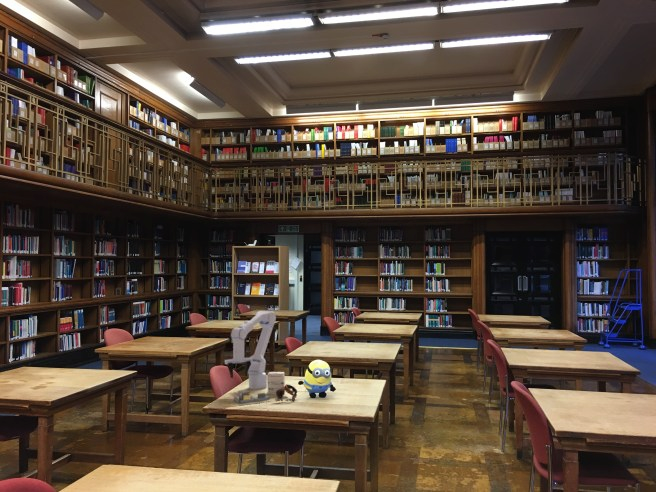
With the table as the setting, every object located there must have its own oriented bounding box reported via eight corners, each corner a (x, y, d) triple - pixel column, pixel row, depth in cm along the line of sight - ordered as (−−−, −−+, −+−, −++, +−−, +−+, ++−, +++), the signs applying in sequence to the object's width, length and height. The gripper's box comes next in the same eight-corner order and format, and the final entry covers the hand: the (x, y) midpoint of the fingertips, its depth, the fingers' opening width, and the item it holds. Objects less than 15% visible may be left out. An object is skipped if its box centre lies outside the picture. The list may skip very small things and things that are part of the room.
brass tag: (250, 398, 248) (250, 394, 248) (250, 399, 247) (250, 395, 247) (243, 399, 246) (243, 395, 246) (243, 400, 245) (243, 396, 245)
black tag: (264, 396, 251) (264, 392, 251) (265, 397, 251) (265, 393, 251) (257, 397, 250) (257, 393, 250) (258, 398, 249) (258, 394, 249)
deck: (244, 393, 267) (244, 391, 267) (248, 397, 260) (248, 395, 260) (229, 395, 263) (229, 393, 263) (233, 399, 256) (233, 397, 256)
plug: (246, 400, 254) (246, 389, 254) (249, 403, 249) (249, 391, 250) (238, 401, 252) (238, 390, 252) (241, 404, 247) (241, 392, 248)
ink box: (285, 393, 267) (285, 371, 267) (283, 396, 262) (283, 373, 262) (269, 393, 267) (269, 371, 268) (267, 395, 263) (267, 373, 263)
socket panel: (264, 397, 259) (264, 393, 259) (269, 401, 251) (269, 396, 252) (233, 401, 251) (233, 397, 251) (238, 405, 244) (238, 400, 244)
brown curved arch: (283, 396, 263) (291, 383, 263) (294, 407, 257) (302, 394, 257) (268, 395, 254) (276, 381, 253) (279, 406, 248) (287, 392, 247)
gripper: (227, 353, 257) (227, 379, 257) (254, 350, 264) (254, 376, 263) (223, 351, 264) (223, 377, 263) (250, 348, 270) (250, 374, 270)
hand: (238, 376), depth 264 cm, fingers open, 7 cm apart
